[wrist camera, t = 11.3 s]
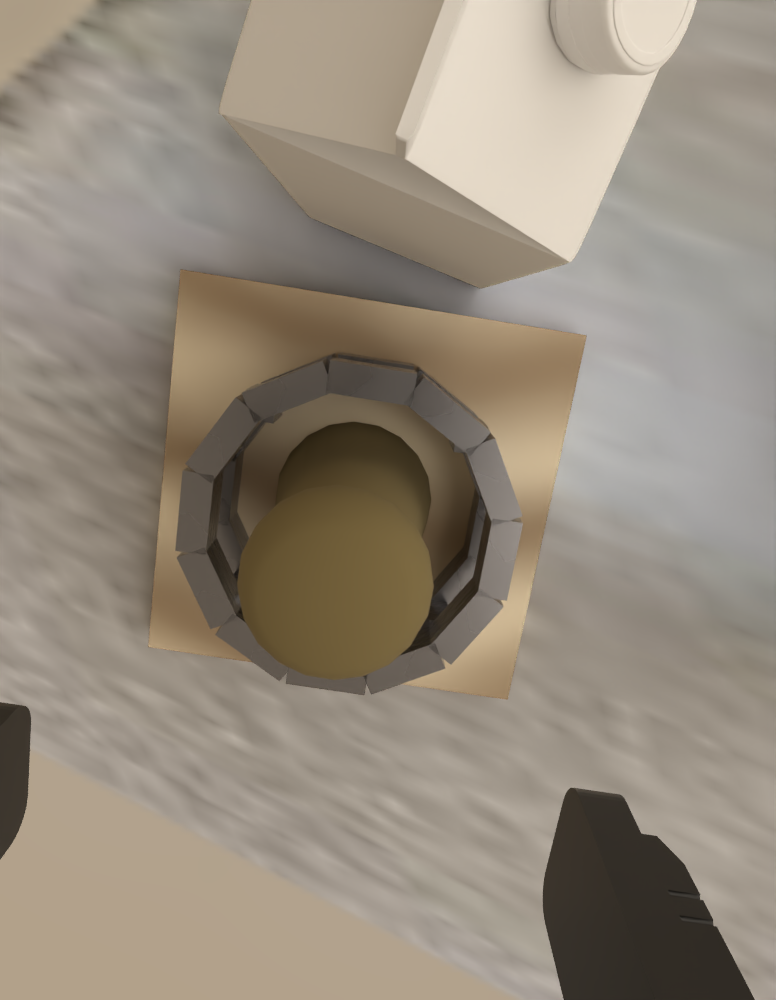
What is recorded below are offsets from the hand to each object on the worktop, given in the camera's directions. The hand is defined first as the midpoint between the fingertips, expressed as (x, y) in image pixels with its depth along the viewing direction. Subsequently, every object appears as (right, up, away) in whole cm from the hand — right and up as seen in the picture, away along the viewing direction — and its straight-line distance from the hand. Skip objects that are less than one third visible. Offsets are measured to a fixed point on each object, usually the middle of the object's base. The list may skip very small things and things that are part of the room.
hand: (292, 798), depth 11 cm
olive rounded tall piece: (0, +5, +18) cm, 19 cm away
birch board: (0, +5, +19) cm, 20 cm away
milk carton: (+3, +17, +17) cm, 24 cm away
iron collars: (0, +4, +18) cm, 18 cm away
